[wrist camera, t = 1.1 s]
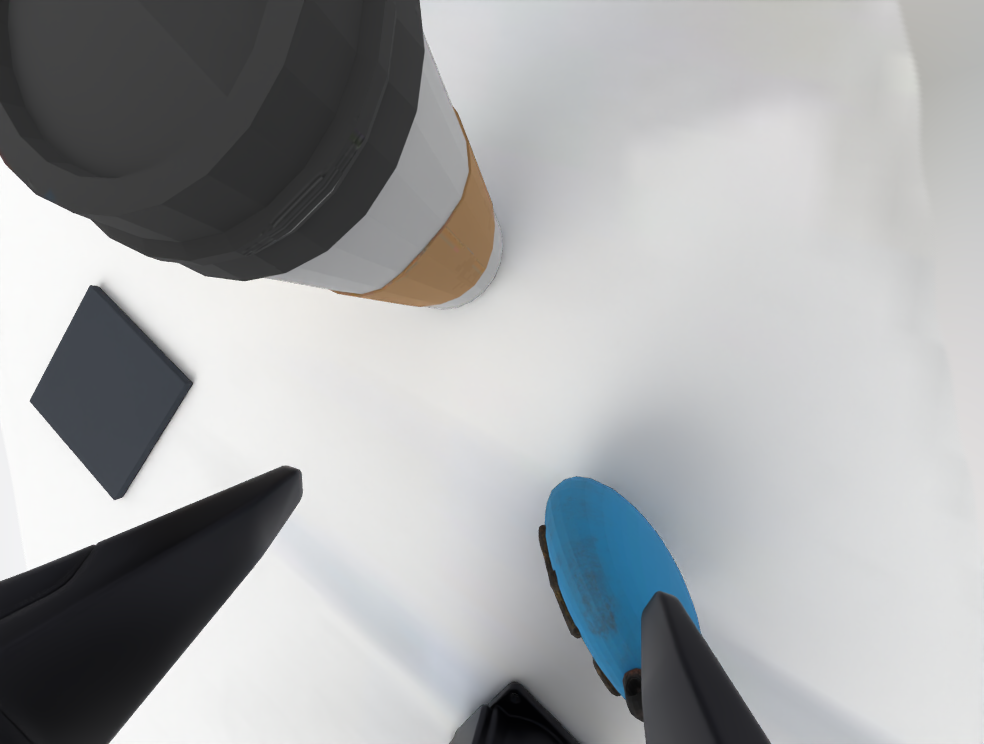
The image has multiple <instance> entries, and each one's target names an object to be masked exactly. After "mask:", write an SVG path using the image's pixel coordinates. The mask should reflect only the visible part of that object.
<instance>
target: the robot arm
mask: <svg viewBox="0 0 984 744" xmlns="http://www.w3.org/2000/svg"><path fill="white" fill-rule="evenodd" d="M302 494H303V488H302V473H301V471H300V470H299V469H296V468H293V467H290V466H281V467H279V468H276V469H274V470H272V471H269V472H267V473H264V474H262V475H260V476H257V477H255V478H252V479H250V480H248V481H245V482H243V483H240V484H238V485H236V486H233V487H231V488H228V489H226V490H223V491H221V492H219V493H216V494H214V495H211V496H209V497H207V498H204V499H202V500H199V501H197V502H195V503H192V504H190V505H187V506H185V507H183V508H180V509H178V510H175V511H173V512H171V513H168V514H166V515H163V516H161V517H159V518H156V519H154V520H151V521H149V522H147V523H144V524H142V525H139V526H137V527H134V528H132V529H130V530H127V531H125V532H122V533H120V534H118V535H115V536H113V537H110V538H108V539H106V540H103V541H101V542H99V543H98V544H97V545H91V546H88V547H86V548H84V549H81V550H79V551H76V552H74V553H72V554H69V555H67V556H64V557H62V558H59V559H57V560H54V561H52V562H49V563H47V564H44V565H42V566H39V567H37V568H34V569H32V570H29V571H27V572H24V573H21V574H19V575H16V576H14V577H11V578H8V579H5V580H3V581H0V744H109V743H110V741H111V740H112V739H113V738H114V737H115V735H116V734H117V733H118V732H119V730H120V729H121V728H122V727H123V726H124V724H125V723H126V722H127V721H128V719H129V718H130V717H131V716H132V715H133V713H134V712H135V711H136V710H137V709H138V707H139V706H140V705H141V704H142V702H143V701H144V700H145V699H146V698H147V696H148V695H149V694H150V693H151V692H152V690H153V689H154V688H155V687H156V685H157V684H158V683H159V682H160V681H161V679H162V678H163V677H164V676H165V674H166V673H167V672H168V671H169V670H170V668H171V667H172V666H173V665H174V664H175V662H176V661H177V660H178V659H179V657H180V656H181V655H182V654H183V653H184V651H185V650H186V649H187V648H188V647H189V645H190V644H191V643H192V642H193V640H194V639H195V638H196V637H197V636H198V634H199V633H200V632H201V631H202V629H203V628H204V627H205V626H206V625H207V623H208V622H209V621H210V620H211V619H212V617H213V616H214V615H215V614H216V612H217V611H218V610H219V609H220V608H221V606H222V605H223V604H224V603H225V602H226V600H227V599H228V598H229V597H230V595H231V594H232V593H233V592H234V591H235V589H236V588H237V587H238V586H239V584H240V583H241V582H242V581H243V580H244V578H245V577H246V576H247V575H248V574H249V572H250V571H251V570H252V569H253V567H254V566H255V565H256V564H257V562H258V561H259V560H260V559H261V557H262V556H263V555H264V553H265V552H266V550H267V549H268V547H269V546H270V545H271V543H272V542H273V540H274V539H275V537H276V536H277V534H278V533H279V531H280V530H281V528H282V527H283V525H284V524H285V522H286V521H287V519H288V518H289V517H290V515H291V514H292V512H293V511H294V509H295V508H296V506H297V505H298V503H299V502H300V500H301V497H302ZM641 689H642V707H643V718H644V728H645V738H646V744H771V743H770V741H769V739H768V738H767V736H766V735H765V733H764V732H763V730H762V729H761V727H760V725H759V724H758V722H757V721H756V719H755V718H754V716H753V715H752V713H751V711H750V710H749V708H748V707H747V705H746V704H745V702H744V700H743V699H742V697H741V696H740V694H739V693H738V691H737V690H736V688H735V686H734V685H733V683H732V682H731V680H730V679H729V677H728V676H727V674H726V672H725V671H724V669H723V668H722V666H721V665H720V663H719V661H718V660H717V658H716V657H715V655H714V654H713V652H712V651H711V649H710V647H709V646H708V644H707V643H706V641H705V640H704V638H703V637H702V635H701V633H700V632H699V630H698V629H697V627H696V626H695V624H694V622H693V621H692V619H691V618H690V616H689V615H688V613H687V612H686V610H685V608H684V607H683V605H682V604H681V602H680V601H679V599H678V598H677V597H675V596H674V595H671V594H668V593H665V592H662V591H657V592H656V593H655V594H654V595H653V596H652V598H651V599H650V601H649V602H648V604H647V605H646V607H645V608H644V610H643V612H642V616H641ZM513 693H516V694H518V696H517V695H514V694H513ZM449 744H579V743H578V742H577V741H576V740H575V739H574V738H573V737H572V736H571V735H570V734H569V733H568V732H567V730H566V729H565V728H564V727H563V726H562V725H561V724H560V723H559V722H558V721H557V720H556V719H555V718H554V717H553V716H552V715H551V714H550V713H549V712H548V711H547V710H546V709H545V708H544V707H543V706H542V705H541V704H540V703H539V702H538V701H537V700H536V699H535V698H534V697H533V696H532V695H531V694H530V693H529V692H528V691H527V690H526V689H525V688H524V687H523V686H522V685H521V684H519V683H517V682H511V683H510V684H508V685H507V686H506V687H505V688H504V689H503V690H502V691H501V692H500V693H499V694H498V695H497V696H496V697H495V698H494V699H493V700H492V701H491V702H490V703H489V704H488V705H487V704H485V705H482V706H481V707H480V708H479V709H478V710H477V711H476V712H475V713H474V714H473V715H472V716H471V717H470V718H469V719H468V720H467V721H466V722H465V723H464V724H463V725H462V726H461V727H460V728H459V729H458V730H457V731H456V733H455V736H454V739H453V740H452V741H451V742H450V743H449Z"/></svg>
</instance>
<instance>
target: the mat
mask: <svg viewBox="0 0 984 744" xmlns="http://www.w3.org/2000/svg"><path fill="white" fill-rule="evenodd" d="M191 385H192V382H191V381H190V380H189V379H188V378H187V377H186V376H185V375H184V374H183V373H182V372H181V371H180V370H179V369H178V368H177V367H176V366H175V365H174V364H173V363H172V362H171V361H170V360H169V359H168V358H167V357H166V356H165V354H164V353H163V352H162V351H161V350H160V349H159V348H158V347H157V346H156V345H155V344H154V343H153V342H152V341H151V340H150V339H149V338H148V337H147V336H146V335H145V334H144V333H143V332H142V331H141V330H140V329H139V328H138V327H137V326H136V325H135V324H134V323H133V322H132V321H131V320H130V318H129V317H128V316H127V315H126V314H125V313H124V312H123V311H122V310H121V309H120V308H119V307H118V306H117V305H116V304H115V303H114V302H113V301H112V300H111V299H110V298H109V297H108V296H107V295H106V294H105V293H104V292H103V291H102V290H101V289H100V288H99V287H98V286H92V285H90V286H89V288H88V290H87V292H86V294H85V296H84V298H83V300H82V302H81V303H80V305H79V307H78V309H77V311H76V313H75V315H74V317H73V319H72V321H71V323H70V325H69V326H68V328H67V330H66V332H65V334H64V336H63V338H62V340H61V342H60V344H59V346H58V348H57V349H56V351H55V353H54V355H53V357H52V359H51V361H50V363H49V365H48V367H47V369H46V371H45V372H44V374H43V376H42V378H41V380H40V382H39V384H38V386H37V388H36V390H35V392H34V394H33V395H32V397H31V399H30V402H31V403H32V404H33V406H34V407H35V408H36V409H37V410H38V411H39V413H40V414H41V415H42V416H43V417H44V418H45V420H46V421H47V422H48V423H49V424H50V426H51V427H52V428H53V429H54V430H55V431H56V433H57V434H58V435H59V436H60V437H61V438H62V440H63V441H64V442H65V443H66V444H67V445H68V447H69V448H70V449H71V450H72V451H73V452H74V454H75V455H76V456H77V457H78V458H79V459H80V461H81V462H82V463H83V464H84V465H85V467H86V468H87V469H88V470H89V471H90V472H91V474H92V475H93V476H94V477H95V478H96V479H97V481H98V482H99V483H100V484H101V485H102V486H103V488H104V489H105V490H106V491H107V492H108V493H109V495H110V496H111V497H112V498H113V499H114V500H116V499H119V498H122V497H123V495H124V494H125V492H126V491H127V489H128V487H129V486H130V484H131V482H132V481H133V479H134V478H135V476H136V474H137V473H138V471H139V469H140V468H141V466H142V465H143V463H144V461H145V460H146V458H147V457H148V455H149V453H150V452H151V450H152V448H153V447H154V445H155V444H156V442H157V440H158V439H159V437H160V436H161V434H162V432H163V431H164V429H165V427H166V426H167V424H168V423H169V421H170V419H171V418H172V416H173V415H174V413H175V411H176V410H177V408H178V406H179V405H180V403H181V402H182V400H183V398H184V397H185V395H186V393H187V392H188V390H189V389H190V387H191Z"/></svg>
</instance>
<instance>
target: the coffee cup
mask: <svg viewBox="0 0 984 744" xmlns="http://www.w3.org/2000/svg"><path fill="white" fill-rule="evenodd" d="M0 156H1V158H2V159H3V161H4V163H5V164H6V165H7V166H8V167H9V168H10V169H11V170H12V171H13V172H14V173H15V174H16V175H17V176H18V177H19V178H20V179H21V180H22V181H23V182H24V183H25V184H26V185H27V186H28V187H29V188H30V189H31V190H32V191H33V192H34V193H35V194H36V195H38V196H40V197H42V198H44V199H46V200H48V201H51V202H53V203H55V204H57V205H59V206H61V207H63V208H65V209H67V210H69V211H71V212H73V213H76V214H78V215H81V216H84V217H86V218H89V219H91V220H92V221H93V222H94V223H95V224H96V225H97V226H98V227H99V228H100V229H101V230H102V231H103V232H104V233H105V234H106V235H107V236H108V237H109V238H111V239H113V240H115V241H117V242H119V243H121V244H123V245H125V246H127V247H130V248H132V249H134V250H136V251H138V252H140V253H142V254H144V255H146V256H148V257H151V258H154V259H157V260H160V261H167V262H175V263H180V264H182V265H184V266H186V267H188V268H190V269H192V270H194V271H196V272H198V273H200V274H202V275H204V276H208V277H216V278H224V279H231V280H239V281H248V280H253V279H259V278H269V279H274V280H280V281H285V282H291V283H296V284H302V285H307V286H313V287H319V288H324V289H329V290H331V291H333V292H335V293H337V294H343V295H349V296H355V297H361V298H367V299H373V300H379V301H385V302H391V303H397V304H403V305H410V306H418V307H423V306H424V307H429V308H437V309H450V308H457V307H460V306H462V305H464V304H467V303H469V302H471V301H473V300H474V299H475V298H476V297H478V296H479V295H480V294H481V293H483V292H484V291H485V289H486V288H487V287H488V286H489V284H490V283H491V282H492V280H493V279H494V277H495V275H496V273H497V270H498V268H499V265H500V263H501V257H502V250H503V242H502V233H501V229H500V226H499V223H498V221H497V218H496V216H495V213H494V211H493V204H492V201H491V199H490V196H489V193H488V191H487V188H486V185H485V183H484V180H483V178H482V175H481V172H480V170H479V167H478V164H477V162H476V159H475V157H474V154H473V151H472V149H471V146H470V143H469V141H468V138H467V136H466V133H465V130H464V128H463V125H462V123H461V120H460V117H459V115H458V113H457V111H456V110H455V109H454V107H453V106H452V104H451V101H450V99H449V96H448V94H447V91H446V89H445V86H444V84H443V81H442V79H441V76H440V74H439V71H438V68H437V66H436V63H435V61H434V58H433V56H432V53H431V51H430V48H429V46H428V43H427V41H426V38H425V35H424V33H423V29H422V20H421V10H420V1H419V0H0Z"/></svg>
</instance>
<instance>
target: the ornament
mask: <svg viewBox="0 0 984 744" xmlns="http://www.w3.org/2000/svg"><path fill="white" fill-rule="evenodd" d="M539 542H540V546H541V550H542V552H543V556H544V559H545V564H546V568H547V572H548V576H549V581H550V586H551V588H552V589H553V591H554V593H555V596H556V599H557V601H558V604H559V606H560V609H561V611H562V614H563V616H564V619H565V621H566V623H567V626H568V628H569V630H570V632H571V635H573V636H574V637H576V638H580V637H582V639H583V641H584V642H585V644H586V646H587V648H588V649H589V651H590V653H591V654H592V656H593V664H594V667H595V669H596V671H597V673H598V675H599V676H600V678H601V680H602V681H603V683H604V684H605V686H606V687H607V689H608V690H609V691H610V692H611V693H612V694H613V695H615V696H621V695H622V697H623V698H624V699H625V700H626V702H627V706H628V708H629V710H630V712H631V714H632V715H633V716H634V717H635V718H637V719H639V720H640V721H642V722H644V718H643V707H642V689H641V616H642V612H643V610H644V608H645V607H646V605H647V604H648V602H649V601H650V599H651V598H652V596H653V595H654V594H655V593H656V592H657V591H662V592H665V593H668V594H671V595H674V596H675V597H677V598H678V599H679V601H680V602H681V604H682V605H683V607H684V608H685V610H686V612H687V613H688V615H689V616H690V618H691V619H692V621H693V622H694V624H695V626H696V627H697V629H698V630H699V632H700V633H701V631H700V627H699V622H698V618H697V614H696V611H695V608H694V605H693V602H692V600H691V597H690V595H689V592H688V590H687V587H686V584H685V582H684V580H683V577H682V575H681V573H680V571H679V569H678V567H677V565H676V563H675V561H674V560H673V558H672V556H671V554H670V553H669V551H668V549H667V548H666V546H665V545H664V543H663V541H662V540H661V538H660V537H659V535H658V534H657V533H656V531H655V530H654V529H653V528H652V526H651V525H650V524H649V523H648V521H647V520H646V519H645V518H644V516H643V515H642V514H641V513H640V512H639V511H638V510H637V509H636V508H635V507H634V506H633V505H632V504H630V503H629V502H628V501H627V500H626V499H625V498H624V497H622V496H621V495H620V494H619V493H617V492H616V491H615V490H613V489H612V488H610V487H608V486H606V485H604V484H601V483H599V482H597V481H595V480H593V479H590V478H584V477H577V476H576V477H572V478H568V479H565V480H563V481H562V482H561V483H559V484H558V485H557V486H556V487H555V488H554V489H553V490H552V492H551V494H550V497H549V499H548V502H547V506H546V514H545V525H541V526H540V527H539Z"/></svg>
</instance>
